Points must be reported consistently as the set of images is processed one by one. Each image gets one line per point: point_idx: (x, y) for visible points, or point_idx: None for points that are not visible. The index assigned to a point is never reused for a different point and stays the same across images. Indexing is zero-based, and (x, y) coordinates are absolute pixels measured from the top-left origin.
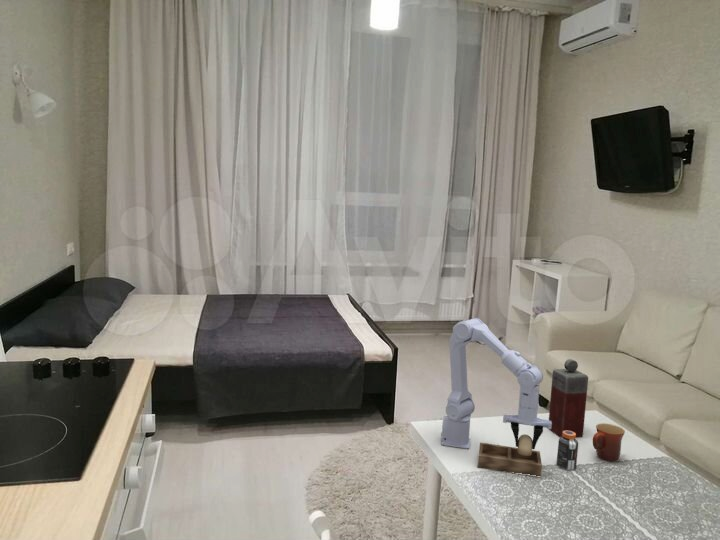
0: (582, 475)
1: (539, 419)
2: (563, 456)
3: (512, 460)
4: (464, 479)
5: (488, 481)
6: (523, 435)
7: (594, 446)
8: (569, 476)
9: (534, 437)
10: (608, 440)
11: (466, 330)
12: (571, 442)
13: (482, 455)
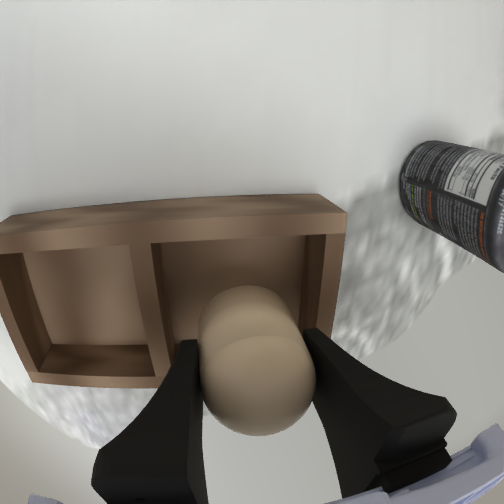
0: (458, 245)
1: (457, 493)
2: (449, 239)
3: None
4: (55, 416)
5: (118, 413)
6: (246, 428)
7: None
8: (417, 273)
9: (332, 446)
10: None
11: None
12: None
13: (43, 378)
